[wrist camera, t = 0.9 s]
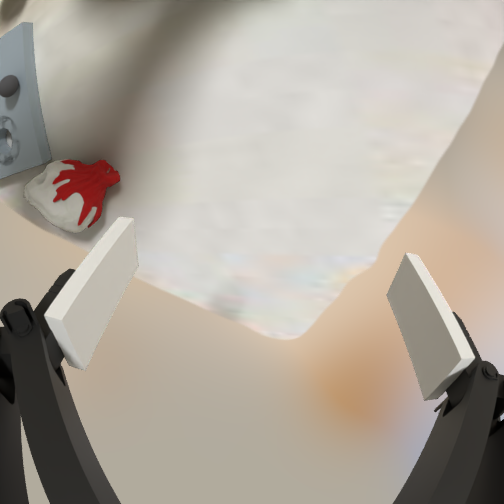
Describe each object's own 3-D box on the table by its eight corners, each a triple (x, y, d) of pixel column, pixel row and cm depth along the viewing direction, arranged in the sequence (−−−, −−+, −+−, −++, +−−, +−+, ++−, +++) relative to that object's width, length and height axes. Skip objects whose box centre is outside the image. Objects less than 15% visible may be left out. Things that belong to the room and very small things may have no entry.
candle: (40, 176, 38) (107, 125, 36) (73, 232, 44) (142, 190, 41) (8, 195, 30) (78, 134, 28) (48, 259, 36) (123, 213, 33)
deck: (-23, 62, 26) (-32, 64, 24) (32, 22, 24) (22, 22, 22) (-3, 178, 39) (-11, 183, 36) (51, 158, 37) (42, 164, 35)
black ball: (8, 78, 27) (-8, 81, 24) (21, 70, 27) (6, 72, 24) (10, 98, 29) (-5, 102, 26) (24, 90, 29) (8, 94, 26)
